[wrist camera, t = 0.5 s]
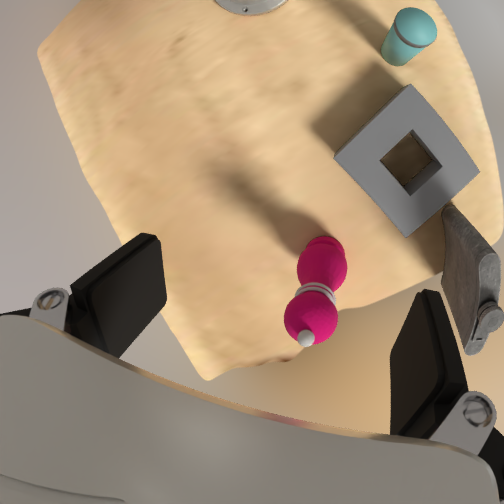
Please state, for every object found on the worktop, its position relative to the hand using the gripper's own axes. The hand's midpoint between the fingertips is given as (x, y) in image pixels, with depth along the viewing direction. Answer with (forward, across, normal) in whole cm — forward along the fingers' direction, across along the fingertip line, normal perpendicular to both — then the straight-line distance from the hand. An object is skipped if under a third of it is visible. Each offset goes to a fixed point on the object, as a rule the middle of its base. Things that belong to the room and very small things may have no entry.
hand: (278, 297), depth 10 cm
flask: (+34, -21, +10) cm, 41 cm away
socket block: (+34, -10, -2) cm, 35 cm away
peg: (+34, -7, -16) cm, 38 cm away
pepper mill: (+34, -1, +15) cm, 37 cm away
